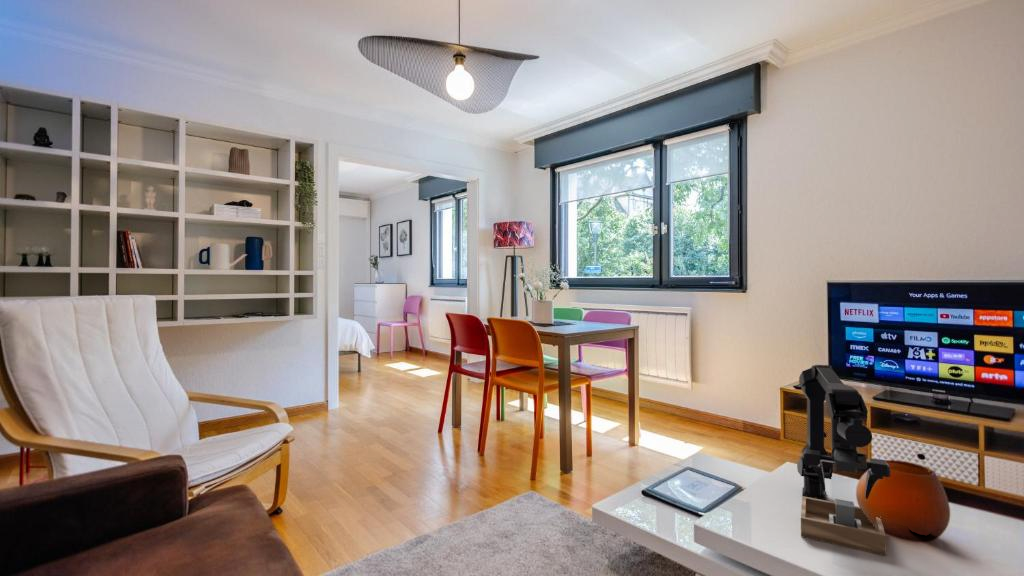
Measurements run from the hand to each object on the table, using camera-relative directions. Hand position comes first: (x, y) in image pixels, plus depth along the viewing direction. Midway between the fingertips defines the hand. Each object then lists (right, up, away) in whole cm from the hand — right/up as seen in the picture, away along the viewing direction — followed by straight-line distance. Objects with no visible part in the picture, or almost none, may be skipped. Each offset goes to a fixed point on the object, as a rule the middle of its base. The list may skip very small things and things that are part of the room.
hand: (844, 494), depth 127 cm
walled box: (0, -11, +2) cm, 12 cm away
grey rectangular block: (0, -10, 0) cm, 10 cm away
